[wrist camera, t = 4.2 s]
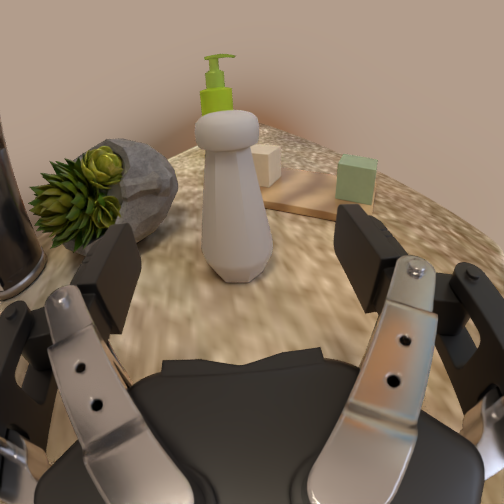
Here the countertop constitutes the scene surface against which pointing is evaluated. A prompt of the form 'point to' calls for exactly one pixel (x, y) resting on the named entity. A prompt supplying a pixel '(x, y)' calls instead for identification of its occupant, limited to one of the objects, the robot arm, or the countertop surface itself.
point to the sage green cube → (356, 179)
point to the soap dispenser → (215, 88)
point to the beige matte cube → (267, 163)
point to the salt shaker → (232, 197)
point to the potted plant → (105, 194)
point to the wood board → (306, 194)
